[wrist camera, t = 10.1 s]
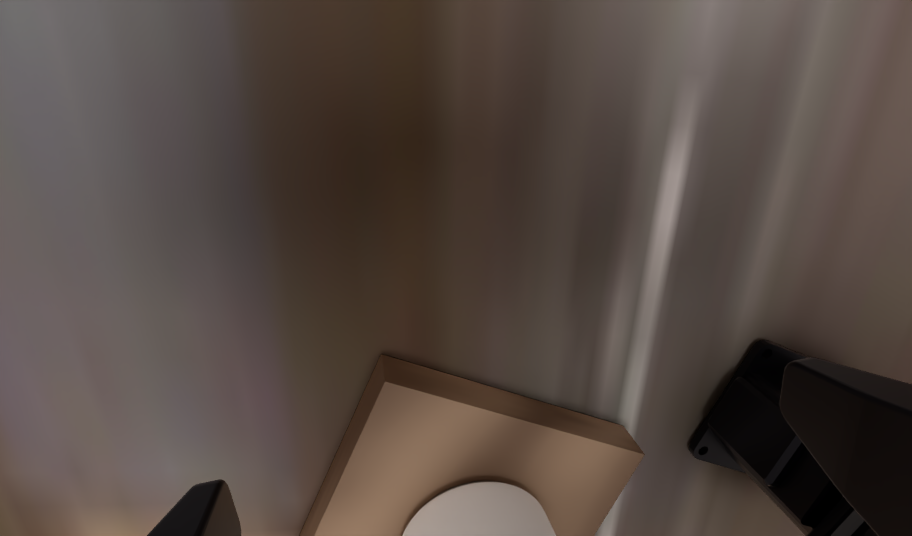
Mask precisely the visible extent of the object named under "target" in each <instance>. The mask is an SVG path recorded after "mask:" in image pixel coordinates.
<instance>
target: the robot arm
mask: <svg viewBox="0 0 912 536" xmlns="http://www.w3.org/2000/svg"><path fill="white" fill-rule="evenodd" d="M764 351H765V352H764ZM763 352H764V353H763ZM701 447H702V448H701ZM700 448H701V449H700ZM689 450H690V452H691V453H692V455H693V456H694V457H695V458H697V459H699V460H703V461H706V462H710V463H713V464H717V465H720V466H723V467H727V468H730V469H734V470H737V471H741V472H744V473H747V474H748V475H749V476H750V478H751V479H752V480H753V481H754V482H755V483H756V484H757V485H758V486H759V487H760V488H761V489H762V490H763V491H764V492H765V493H766V494H767V495H768V496H769V497H770V498H771V500H772V501H773V502H774V503H775V504H776V505H777V506H778V507H779V508H780V509H781V510H782V511H783V512H784V513H785V514H786V515H787V516H788V517H789V518H790V519H791V521H792V522H793V523H794V524H795V525H796V526H797V527H798V528H799V529H800V530H801V531H802V532H803V533H804V534H805V535H806V536H912V384H909V383H905V382H901V381H898V380H894V379H890V378H887V377H883V376H880V375H876V374H872V373H869V372H865V371H861V370H858V369H854V368H850V367H847V366H843V365H840V364H836V363H832V362H829V361H825V360H821V359H818V358H810V357H808V356H805V355H803V354H800V353H798V352H795V351H793V350H790V349H788V348H785V347H783V346H780V345H778V344H775V343H772V342H770V341H767V340H761V341H759V342H757V343H756V344H755V345H754V346H753V347H752V349H751V351H750V352H749V354H748V355H747V357H746V358H745V360H744V361H743V363H742V364H741V366H740V367H739V369H738V371H737V372H736V374H735V375H734V377H733V378H732V380H731V381H730V383H729V384H728V386H727V388H726V389H725V391H724V392H723V394H722V395H721V397H720V398H719V400H718V401H717V403H716V404H715V406H714V408H713V409H712V411H711V412H710V414H709V415H708V417H707V418H706V420H705V421H704V423H703V424H702V426H701V428H700V429H699V431H698V432H697V434H696V435H695V437H694V438H693V440H692V441H691V443H690V445H689ZM147 536H241V527H240V521H239V518H238V515H237V512H236V509H235V506H234V502H233V499H232V496H231V493H230V490H229V487H228V485H227V483H226V482H225V481H223V480H215V481H210V482H205V483H200V484H197V485H195V486H193V487H192V488H191V489H190V490H189V491H188V492H187V493H186V494H185V495H184V496H183V497H182V498H181V499H180V500H179V502H178V503H177V504H176V505H175V506H174V507H173V508H172V509H171V510H170V511H169V512H168V513H167V515H166V516H165V517H164V518H163V519H162V520H161V521H160V522H159V523H158V524H157V525H156V526H155V527H154V529H153V530H152V531H151V532H150V533H149V534H148V535H147Z"/></svg>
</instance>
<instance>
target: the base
mask: <svg viewBox="0 0 912 536" xmlns="http://www.w3.org/2000/svg"><path fill="white" fill-rule="evenodd" d="M644 455H645V454H644V453H643V451H642V450H641V449H640V447H639V446H638V445H637V443H636V442H635V441H634V439H633V438H632V437H631V435H630V434H629V433H628V431H627V430H626V429H625V428H624V426H622V425H618V424H615V423H611V422H608V421H605V420H601V419H598V418H595V417H591V416H588V415H585V414H581V413H578V412H574V411H571V410H568V409H564V408H561V407H558V406H554V405H551V404H547V403H544V402H541V401H537V400H534V399H531V398H527V397H524V396H521V395H517V394H514V393H510V392H507V391H504V390H500V389H497V388H494V387H490V386H487V385H483V384H480V383H477V382H473V381H470V380H467V379H463V378H460V377H457V376H453V375H450V374H446V373H443V372H440V371H436V370H433V369H430V368H426V367H423V366H419V365H416V364H413V363H409V362H406V361H403V360H399V359H396V358H393V357H389V356H386V355H382V354H381V355H380V358H379V360H378V362H377V364H376V366H375V369H374V371H373V373H372V375H371V378H370V380H369V382H368V384H367V386H366V389H365V391H364V393H363V395H362V397H361V400H360V402H359V404H358V406H357V409H356V411H355V413H354V415H353V417H352V420H351V422H350V424H349V426H348V429H347V431H346V433H345V435H344V437H343V440H342V442H341V444H340V446H339V448H338V451H337V453H336V455H335V457H334V460H333V462H332V464H331V466H330V468H329V471H328V473H327V475H326V477H325V480H324V482H323V484H322V486H321V488H320V491H319V493H318V495H317V497H316V499H315V502H314V504H313V506H312V508H311V511H310V513H309V515H308V517H307V519H306V522H305V524H304V526H303V528H302V531H301V533H300V535H299V536H402V535H403V533H404V531H405V529H406V527H407V525H408V524H409V522H410V521H411V519H412V518H413V517H414V516H415V515H416V513H417V512H418V511H419V510H420V509H421V508H422V507H423V506H424V505H425V504H426V503H427V502H428V501H430V500H431V499H432V498H434V497H435V496H437V495H438V494H440V493H442V492H443V491H445V490H447V489H450V488H452V487H455V486H457V485H461V484H464V483H469V482H475V481H496V482H501V483H505V484H510V485H513V486H516V487H518V488H521V489H523V490H525V491H526V492H528V493H529V494H531V495H532V496H533V497H534V498H535V499H536V500H537V501H538V502H539V503H540V505H541V506H542V508H543V510H544V511H545V513H546V515H547V517H548V519H549V522H550V524H551V526H552V528H553V530H554V532H555V534H556V536H594V535H595V533H596V532H597V530H598V528H599V527H600V525H601V524H602V522H603V520H604V519H605V517H606V516H607V514H608V512H609V511H610V509H611V508H612V506H613V504H614V503H615V501H616V500H617V498H618V496H619V495H620V493H621V492H622V490H623V489H624V487H625V485H626V484H627V482H628V481H629V479H630V477H631V476H632V474H633V473H634V471H635V469H636V468H637V466H638V465H639V463H640V461H641V460H642V458H643V457H644Z"/></svg>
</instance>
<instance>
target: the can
mask: <svg viewBox="0 0 912 536" xmlns="http://www.w3.org/2000/svg"><path fill="white" fill-rule="evenodd" d="M402 536H556V534H555V532H554V530H553V528H552V526H551V524H550V522H549V519H548V517H547V515H546V513H545V511H544V510H543V508H542V506H541V505H540V503H539V502H538V501H537V500H536V499H535V498H534V497H533V496H532V495H531V494H529V493H528V492H526V491H525V490H523V489H521V488H518V487H516V486H513V485H510V484H505V483H501V482H496V481H475V482H469V483H464V484H461V485H457V486H455V487H452V488H450V489H447V490H445V491H443V492H442V493H440V494H438V495H437V496H435V497H434V498H432V499H431V500H430V501H428V502H427V503H426V504H425V505H424V506H423V507H422V508H421V509H420V510H419V511H418V512H417V513H416V515H415V516H414V517H413V518H412V519H411V521H410V522H409V524H408V525H407V527H406V529H405V531H404V533H403V535H402Z"/></svg>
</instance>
